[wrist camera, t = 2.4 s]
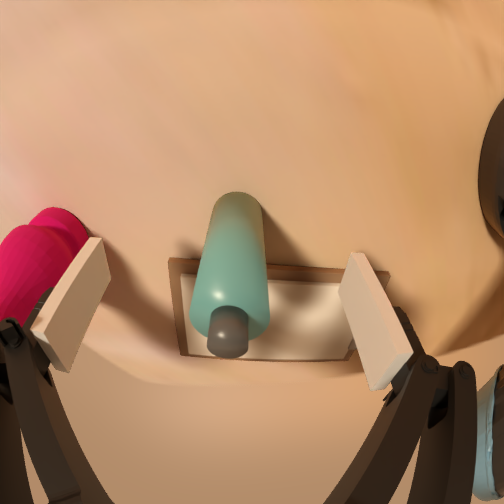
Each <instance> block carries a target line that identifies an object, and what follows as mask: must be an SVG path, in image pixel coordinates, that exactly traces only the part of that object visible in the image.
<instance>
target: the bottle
mask: <svg viewBox="0 0 504 504" xmlns="http://www.w3.org/2000/svg"><path fill="white" fill-rule="evenodd" d="M189 318H190V321H191V323H192V325H193V327H194V328H195V329H196V330H197V331H198V332H199V333H200V334H202V335H203V336H205V337H207V349H208V350H209V352H210V353H212V354H213V355H215V356H217V357H220V358H225V359H233V358H238V357H241V356H243V355H244V354H245V353H246V352H247V351H248V341H250V340H252V339H255V338H256V337H258V336H260V335H261V334H262V333H263V332H264V331H265V330H266V329H267V327H268V325H269V322H270V308H269V294H268V281H267V268H266V255H265V243H264V230H263V218H262V210H261V207H260V204H259V203H258V201H257V200H256V199H255V198H254V197H252V196H251V195H249V194H246V193H243V192H231V193H228V194H225V195H223V196H222V197H221V198H219V199H218V201H217V202H216V203H215V205H214V208H213V211H212V215H211V219H210V223H209V227H208V231H207V235H206V239H205V244H204V248H203V252H202V256H201V260H200V265H199V269H198V273H197V278H196V282H195V287H194V291H193V296H192V301H191V305H190V310H189Z"/></svg>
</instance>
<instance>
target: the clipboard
mask: <svg viewBox="0 0 504 504" xmlns="http://www.w3.org/2000/svg"><path fill="white" fill-rule="evenodd" d="M199 265H200V260H196V259H183V258H169V260H168V268H169V277H170V286H171V294H172V302H173V310H174V317H175V324H176V330H177V337H178V343H179V349H180V355H182V356H191V357H202V358H213V359H225V358H220V357H217V356H215V355H213V354H212V353H210V352H209V350H208V349H207V337H205V336H203V335H202V334H200V333H199V332H198V331H197V330H196V329H195V328H194V327H193V325H192V323H191V321H190V318H189V310H190V305H191V301H192V296H193V291H194V287H195V282H196V278H197V273H198V269H199ZM266 268H267V281H268V294H269V308H270V322H269V325H268V327H267V329H266V330H265V331H264V332H263V333H262V334H261V335H260V336H258V337H256V338H255V339H252V340H250V341H248V351H247V352H246V353H245V354H244V355H243V356H241V357H238V358H233V359H227V360H244V361H270V362H325V361H348V360H349V358H350V357H351V355H352V353H353V351H354V349H357V346H356V343H355V340H354V337H353V334H352V331H351V328H350V325H349V322H348V319H347V316H346V313H345V311H344V308H343V305H342V302H341V299H340V297H339V294H338V289H339V287H340V284H341V281H342V278H343V275H344V272H345V269H333V268H316V267H300V266H284V265H269V264H266ZM374 273H375V275H376V276H377V278H378V280H379V282H380V284H381V286H382V288H383V290H385V287H386V285H387V283H388V281H389V278H390V274H389V272H387V271H374Z"/></svg>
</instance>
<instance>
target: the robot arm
mask: <svg viewBox="0 0 504 504" xmlns="http://www.w3.org/2000/svg"><path fill="white" fill-rule="evenodd" d="M479 194H480V201H481V206H482V210H483V213H484V216H485V218H486V220H487V222H488V223H489V225H490V226H491V227H492V228H493V229H494V230H495V231H496V232H497V233H498V234H499V235H500V236H501V237H502V238H503V239H504V99H503V100H502V101H501V102H500V104H499V105H498V107H497V108H496V110H495V112H494V114H493V116H492V118H491V121H490V123H489V126H488V129H487V132H486V135H485V139H484V143H483V147H482V153H481V159H480V168H479ZM111 279H112V278H111V274H110V270H109V266H108V262H107V258H106V253H105V249H104V244H103V240H102V238H96V237H90V238H89V239H88V241H87V242H86V243H85V245H84V246H83V247H82V249H81V250H80V252H79V253H78V254H77V256H76V257H75V259H74V260H73V261H72V263H71V264H70V266H69V267H68V269H67V270H66V271H65V273H64V274H63V276H62V277H61V279H60V280H59V282H58V283H57V285H56V286H55V287H50V288H48V289H47V290H46V291H45V292H44V293H43V294H42V295H41V297H40V298H39V300H38V303H36V305H35V306H34V309H33V310H32V311H31V313H30V315H29V316H28V318H27V320H26V321H25V323H24V325H23V327H21V326H20V324H19V322H18V321H17V319H15V318H14V317H8V318H5V319H3V320H2V321H1V322H0V504H34V503H33V499H32V495H31V491H30V486H29V482H28V477H27V472H26V467H25V461H24V454H23V447H22V439H21V431H22V434H23V437H24V441H25V443H26V446H27V449H28V452H29V455H30V457H31V460H32V463H33V465H34V468H35V470H36V473H37V475H38V477H39V480H40V482H41V484H42V486H43V488H44V490H45V493H46V495H47V497H48V499H49V503H48V504H114V503H113V502H112V500H111V499H110V498H109V497H108V495H107V493H106V492H105V490H104V489H103V487H102V485H101V484H100V482H99V480H98V478H97V477H96V475H95V473H94V472H93V470H92V468H91V466H90V464H89V462H88V461H87V459H86V457H85V455H84V453H83V451H82V449H81V447H80V445H79V443H78V441H77V439H76V436H75V434H74V432H73V430H72V428H71V425H70V423H69V421H68V418H67V416H66V414H65V411H64V408H63V406H62V403H61V401H60V398H59V395H58V392H57V390H56V387H55V384H54V381H53V378H52V375H51V372H50V370H49V368H48V367H49V365H50V362H51V363H52V365H53V366H54V368H55V369H56V370H59V371H63V372H67V373H69V372H70V369H71V367H72V364H73V362H74V359H75V356H76V354H77V352H78V349H79V347H80V345H81V342H82V340H83V338H84V335H85V333H86V331H87V328H88V326H89V324H90V322H91V320H92V317H93V315H94V313H95V311H96V309H97V307H98V305H99V303H100V301H101V298H102V296H103V294H104V292H105V290H106V288H107V286H108V284H109V282H110V281H111ZM338 294H339V297H340V299H341V302H342V305H343V308H344V311H345V313H346V316H347V319H348V322H349V325H350V328H351V331H352V334H353V337H354V340H355V343H356V346H357V349H358V353H359V356H360V359H361V362H362V365H363V369H364V372H365V375H366V379H367V382H368V385H369V388H370V391H374V390H381V389H385V388H386V387H387V386H388V384H389V383H390V382H391V384H392V387H393V389H392V390H391V391H390V392H389V393H388V394H387V395H386V397H385V398H384V399H383V401H385V400H386V401H385V403H384V405H383V408H382V410H381V412H380V413H379V415H378V417H377V419H376V421H375V423H374V425H373V427H372V429H371V431H370V432H369V434H368V436H367V438H366V440H365V441H364V443H363V445H362V447H361V448H360V450H359V452H358V453H357V455H356V457H355V458H354V460H353V461H352V463H351V465H350V466H349V468H348V469H347V471H346V472H345V474H344V475H343V477H342V478H341V480H340V481H339V483H338V484H337V485H336V487H335V489H334V490H333V491H332V492H331V494H330V495H329V497H328V498H327V499H326V501H325V502H324V503H323V504H388V503H389V501H390V500H391V497H392V496H393V494H394V492H395V490H396V489H397V487H398V485H399V483H400V481H401V479H402V477H403V475H404V473H405V471H406V468H407V466H408V464H409V462H410V460H411V457H412V455H413V452H414V450H415V448H416V445H417V443H418V441H419V438H420V436H421V438H420V445H419V451H418V457H417V462H416V467H415V472H414V477H413V481H412V486H411V490H410V494H409V498H408V501H407V504H470V502H471V496H472V493H473V494H474V495H475V496H476V497H477V498H478V499H480V500H482V501H490V500H498V499H501V498H502V497H503V496H504V365H502V366H500V367H499V368H498V369H497V370H496V372H495V374H494V376H493V377H492V378H491V379H490V380H489V381H488V382H487V383H486V384H485V385H484V386H483V387H482V388H481V389H480V390H479V391H478V392H477V390H476V377H475V372H474V369H473V368H472V366H471V365H470V364H469V363H467V362H465V361H458V362H457V363H456V364H455V365H454V366H453V367H447V366H441V365H439V363H438V361H437V360H436V359H435V358H434V357H432V356H430V355H426V354H425V352H424V349H423V347H422V345H421V343H420V341H419V339H418V337H417V335H416V333H415V331H414V330H413V327H412V325H411V324H410V321H409V319H408V317H407V315H406V313H405V312H404V311H403V310H402V309H401V308H400V307H392V305H391V303H390V301H389V299H388V297H387V295H386V294H385V292H384V290H383V288H382V286H381V284H380V282H379V280H378V278H377V276H376V275H375V273H374V271H373V269H372V267H371V265H370V264H369V262H368V260H367V258H366V256H365V255H364V253H354V252H351V254H350V257H349V260H348V263H347V266H346V269H345V272H344V275H343V278H342V281H341V284H340V287H339V289H338ZM20 428H21V431H20Z"/></svg>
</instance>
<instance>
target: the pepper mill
mask: <svg viewBox="0 0 504 504" xmlns="http://www.w3.org/2000/svg"><path fill="white" fill-rule="evenodd" d="M88 239H89V237H88V235H87V233H86V230H85V228H84V227H83V226H82V224H81V223H80V221H79V220H78V219H77V218H76V217H75V216H73V215H72V214H71V213H69V212H67V211H66V210H64V209H60V208H55V207H51V208H46V209H44V210H43V211H41V212H40V213H39V214H38V215H37V216H36V217H34V218H33V219H32V220H31V221H30V223H29V224H28V225H21V226H18V227H16V228H15V229H13V230H12V231H11V232H10V233H9V234H8V235H7V237H6V238H5V239H4V240H3V242H2V243H1V245H0V322H1V321H2V320H3V319H5V318H8V317H14V318H15V319H17V321H18V322H19V324H20V326H21V327H23V325H24V323H25V321H26V320H27V318H28V316H29V315H30V313H31V311H32V310H33V309H34V306H35V305H36V303H38V300H39V298H40V297H41V295H42V294H43V293H44V292H45V291H46V290H47V289H48V288H50V287H55V286H56V285H57V283H58V282H59V280H60V279H61V277H62V276H63V274H64V273H65V271H66V270H67V269H68V267H69V266H70V264H71V263H72V261H73V260H74V259H75V257H76V256H77V254H78V253H79V252H80V250H81V249H82V247H83V246H84V245H85V243H86V242H87V241H88Z"/></svg>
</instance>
